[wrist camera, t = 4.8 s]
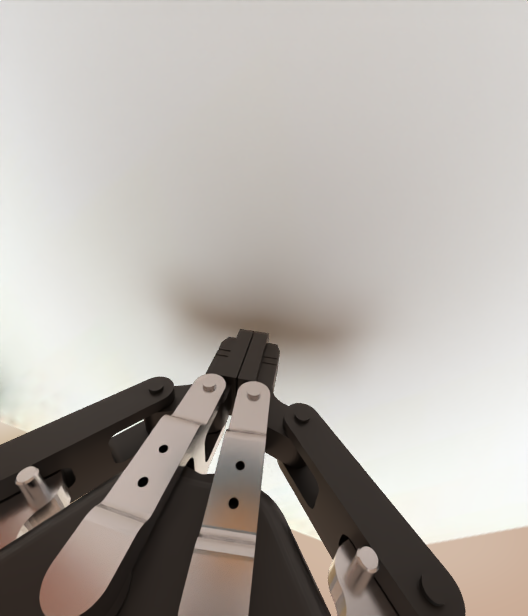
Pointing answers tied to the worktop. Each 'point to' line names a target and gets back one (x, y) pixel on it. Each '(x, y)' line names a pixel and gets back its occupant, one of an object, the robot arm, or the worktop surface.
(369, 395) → the worktop surface
